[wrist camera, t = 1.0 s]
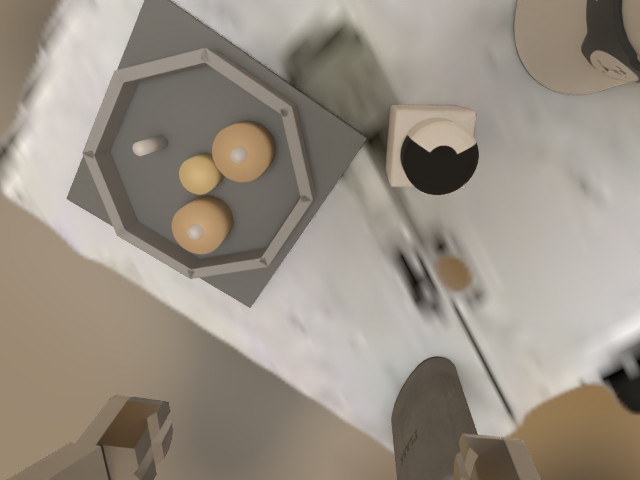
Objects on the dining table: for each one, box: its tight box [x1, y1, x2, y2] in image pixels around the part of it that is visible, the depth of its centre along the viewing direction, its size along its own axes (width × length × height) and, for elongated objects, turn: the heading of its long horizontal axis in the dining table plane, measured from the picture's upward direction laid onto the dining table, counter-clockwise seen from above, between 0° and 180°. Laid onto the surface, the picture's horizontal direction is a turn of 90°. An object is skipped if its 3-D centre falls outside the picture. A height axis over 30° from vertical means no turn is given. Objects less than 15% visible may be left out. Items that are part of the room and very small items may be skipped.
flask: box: [392, 357, 478, 480], centre depth 47 cm, size 15×6×20 cm, turn 163°
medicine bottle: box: [386, 105, 479, 195], centre depth 38 cm, size 7×7×12 cm
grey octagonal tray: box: [67, 0, 367, 308], centre depth 44 cm, size 26×26×6 cm
